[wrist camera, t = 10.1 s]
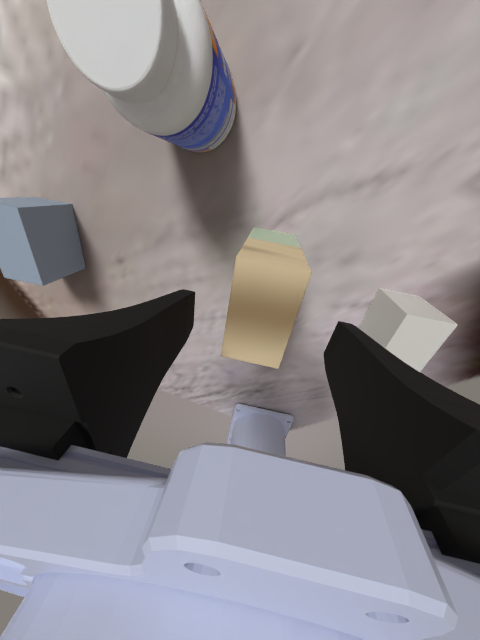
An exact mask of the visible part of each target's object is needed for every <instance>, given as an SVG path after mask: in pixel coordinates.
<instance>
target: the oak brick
mask: <svg viewBox="0 0 480 640" xmlns="http://www.w3.org/2000/svg"><path fill="white" fill-rule="evenodd" d="M311 273H312V272H311V270H310V268H309V265H308V263H307V261H306V258H305V256H304V254H303V251H302V249H301V248H299V247H294V246H289V245H284V244H279V243H274V242H269V241H264V240H259V239H254V238H249V237H248V238H247V240H246V241H245V243H244V245H243V246H242V248H241V250H240V251H239V253H238V255H237V256H236V261H235V267H234V274H233V280H232V287H231V293H230V300H229V306H228V313H227V319H226V326H225V333H224V339H223V346H222V352H221V356H223V357H227V358H232V359H236V360H241V361H245V362H250V363H254V364H259V365H263V366H268V367H272V368H277V369H279V366H280V363H281V360H282V357H283V354H284V351H285V348H286V345H287V343H288V340H289V337H290V334H291V331H292V328H293V325H294V322H295V319H296V317H297V314H298V311H299V308H300V305H301V302H302V299H303V296H304V293H305V290H306V288H307V285H308V282H309V279H310V276H311Z"/></svg>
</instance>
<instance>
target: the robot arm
mask: <svg viewBox="0 0 480 640" xmlns="http://www.w3.org/2000/svg"><path fill="white" fill-rule="evenodd" d="M194 305H195V292H193V291H189V290H184V289H183V290H179V291H176V292H173V293H170V294H167V295H165V296H162V297H159V298H156V299H153V300H150V301H147V302H144V303H141V304H138V305H134V306H131V307H127V308H122V309H118V310H113V311H108V312H102V313H95V314H88V315H81V316H70V317H57V318H32V319H0V590H2V591H6V592H9V593H12V594H15V595H19V596H23V597H25V598H24V599H23V601H22V603H21V604H20V606H19V607H18V609H17V611H16V612H15V614H14V616H13V617H12V619H11V620H10V622H9V624H8V625H7V627H6V628H5V630H4V632H3V633H2V635H1V637H0V640H480V405H479V404H477V403H475V402H473V401H471V400H469V399H467V398H465V397H463V396H461V395H459V394H457V393H456V392H453V391H452V390H450V389H448V388H446V387H444V386H442V385H441V384H439V383H437V382H435V381H434V380H432V379H430V378H429V377H427V376H425V375H424V374H422V373H420V372H419V371H417V370H415V369H414V368H412V367H411V366H409V365H408V364H406V363H405V362H403V361H402V360H401V359H399V358H398V357H396V356H395V355H393V354H392V353H391V352H389V351H388V350H387V349H385V348H384V347H383V346H381V345H380V344H379V343H377V342H376V341H375V340H373V339H372V338H371V337H370V336H368V335H367V334H366V333H364V332H363V331H362V330H360V329H359V328H357V327H356V326H354V325H352V324H350V323H345V322H340V321H338V323H337V326H336V328H335V330H334V332H333V334H332V336H331V339H330V341H329V343H328V345H327V347H326V350H325V352H324V362H325V371H326V375H327V378H328V382H329V386H330V390H331V393H332V397H333V400H334V404H335V408H336V411H337V416H338V420H339V426H340V433H341V439H342V447H343V454H344V463H345V470H341V469H337V468H332V467H328V466H324V465H319V464H315V463H311V462H307V461H302V460H298V459H293V458H289V457H285V438H286V436H287V433H288V431H289V429H290V427H291V425H292V423H293V420H294V417H293V416H292V415H288V414H283V413H279V412H275V411H270V410H266V409H261V408H257V407H252V406H248V405H244V404H239V403H238V404H236V405H235V408H234V413H233V417H232V422H231V426H230V431H229V435H228V440H227V443H228V444H221V443H209V442H207V443H203V444H200V445H197V446H194V447H190V448H187V449H185V450H183V451H181V452H180V453H179V455H178V457H177V458H176V460H175V462H174V464H173V466H172V469H169V468H165V467H161V466H157V465H153V464H149V463H144V462H140V461H136V460H132V459H128V458H127V456H128V453H129V451H130V448H131V446H132V444H133V441H134V439H135V437H136V434H137V432H138V430H139V428H140V425H141V423H142V421H143V418H144V416H145V414H146V412H147V410H148V408H149V406H150V403H151V401H152V399H153V397H154V395H155V393H156V391H157V389H158V387H159V385H160V383H161V381H162V379H163V377H164V376H165V374H166V372H167V371H168V369H169V368H170V366H171V365H172V363H173V362H174V360H175V358H176V357H177V355H178V354H179V352H180V351H181V349H182V348H183V346H184V344H185V343H186V341H187V339H188V337H189V335H190V333H191V330H192V328H193V324H194Z"/></svg>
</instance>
